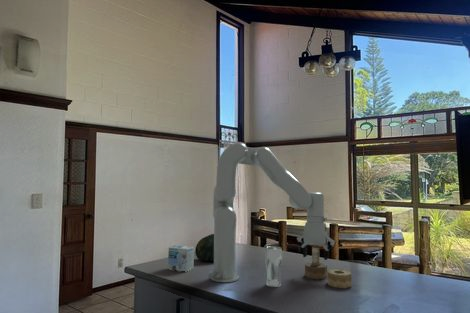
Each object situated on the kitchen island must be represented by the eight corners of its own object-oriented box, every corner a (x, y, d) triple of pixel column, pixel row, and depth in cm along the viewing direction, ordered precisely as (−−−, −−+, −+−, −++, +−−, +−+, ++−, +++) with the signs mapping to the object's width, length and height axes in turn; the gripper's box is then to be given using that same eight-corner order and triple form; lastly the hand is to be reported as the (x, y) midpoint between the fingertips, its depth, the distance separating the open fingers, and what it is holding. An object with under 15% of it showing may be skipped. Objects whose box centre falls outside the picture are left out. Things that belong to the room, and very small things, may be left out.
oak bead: (352, 288, 136) (352, 275, 136) (329, 287, 137) (329, 274, 138) (348, 281, 145) (348, 269, 145) (326, 280, 146) (326, 268, 147)
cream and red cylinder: (318, 277, 151) (318, 245, 152) (311, 276, 153) (311, 244, 154) (320, 275, 154) (320, 244, 155) (313, 274, 155) (313, 243, 156)
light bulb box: (167, 270, 162) (167, 247, 163) (175, 266, 168) (175, 244, 169) (187, 272, 158) (187, 248, 159) (194, 269, 164) (194, 246, 165)
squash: (191, 247, 189) (197, 229, 181) (216, 246, 195) (223, 229, 187) (196, 269, 178) (203, 251, 170) (222, 268, 184) (230, 250, 176)
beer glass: (271, 288, 135) (271, 250, 136) (261, 283, 141) (262, 247, 142) (285, 286, 138) (285, 248, 139) (275, 281, 144) (275, 245, 146)
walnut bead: (323, 280, 147) (323, 268, 147) (303, 277, 152) (302, 265, 152) (328, 275, 155) (328, 264, 155) (309, 272, 159) (309, 261, 160)
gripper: (336, 220, 154) (336, 258, 153) (299, 217, 163) (299, 254, 161) (332, 221, 147) (332, 262, 146) (294, 219, 156) (294, 257, 155)
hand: (315, 257), depth 154 cm, fingers open, 9 cm apart
